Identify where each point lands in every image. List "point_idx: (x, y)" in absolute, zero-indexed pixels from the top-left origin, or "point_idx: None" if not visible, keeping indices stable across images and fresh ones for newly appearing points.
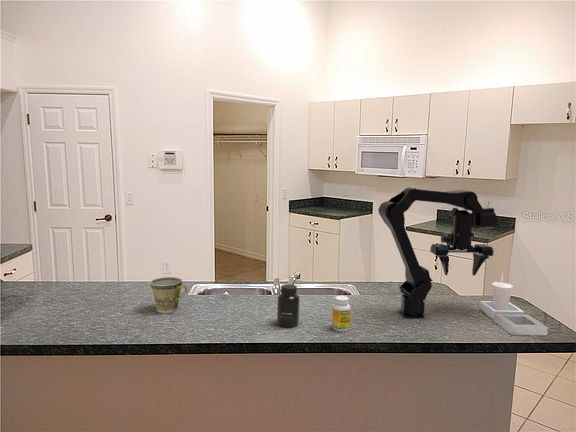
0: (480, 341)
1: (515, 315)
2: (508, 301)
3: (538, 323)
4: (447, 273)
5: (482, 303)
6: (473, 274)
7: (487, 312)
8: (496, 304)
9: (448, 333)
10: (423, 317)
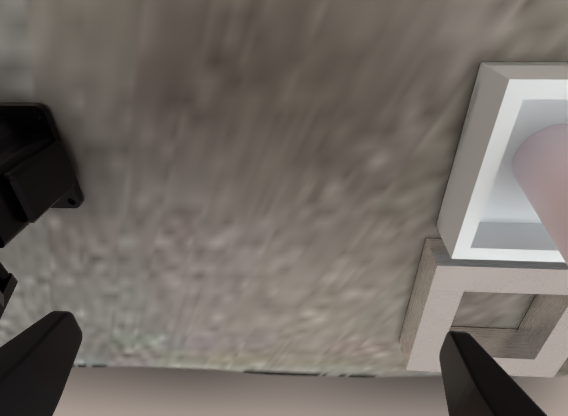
0: (260, 365)
1: (539, 282)
2: None
3: (555, 352)
4: (70, 369)
5: (495, 114)
6: (443, 362)
7: (458, 173)
8: (535, 209)
9: (170, 323)
10: (79, 204)
